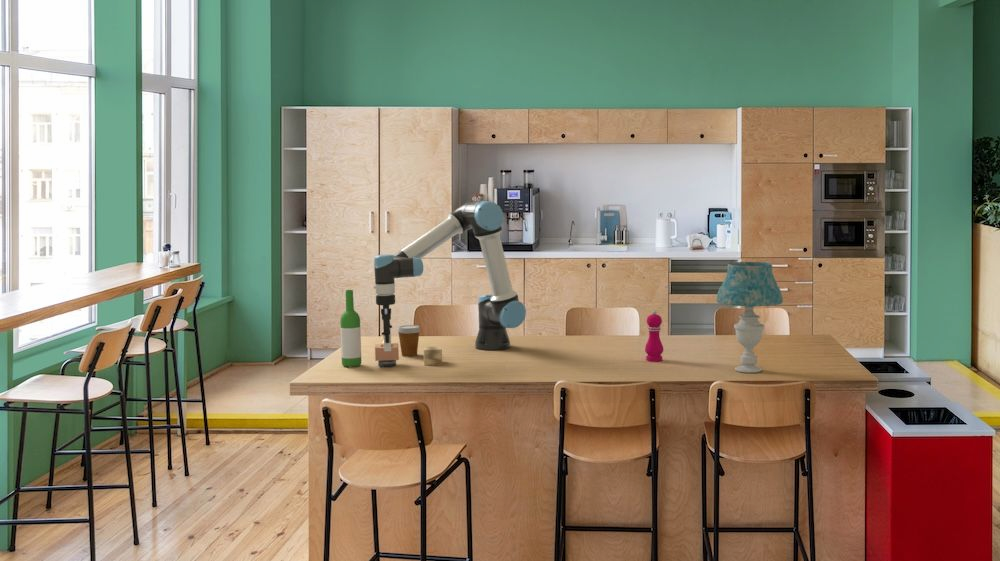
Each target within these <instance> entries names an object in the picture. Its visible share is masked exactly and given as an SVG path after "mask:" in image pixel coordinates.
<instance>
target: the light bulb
mask: <svg viewBox="0 0 1000 561" xmlns="http://www.w3.org/2000/svg"><path fill="white" fill-rule="evenodd" d="M382 344H383V347H384V339H383V340H382ZM377 362H378V363H377V364H378V367H379V368H383V369H384V368H395V367H397V360H384V361H377Z"/></svg>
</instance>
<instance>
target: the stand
mask: <svg viewBox="0 0 1000 561" xmlns="http://www.w3.org/2000/svg"><path fill="white" fill-rule="evenodd" d="M423 364H424V366H435V365H437V366H438V365H439V364H442V365H443V349H442V346H423Z"/></svg>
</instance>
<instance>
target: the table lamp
mask: <svg viewBox="0 0 1000 561" xmlns="http://www.w3.org/2000/svg"><path fill="white" fill-rule="evenodd" d="M726 270H727V271H726V275H725V277H724V278H723V281H722V284H721V285H720V287H719V288H718V292H717V296H716V302H717V303H718V304H720V305H724V306H725V305H726V306H735V307H744V312H743V313H742V314H740V315H738V318H739V319H740V320H739V321H738V322H737V323H735V324H734V325H733V329H735V336H736V337H735V338H736V340H737V342H738V343H739V344H740V345H741V346H742V347H743V348H744V351H743V352H742V354H741V355H740V356H739V362H740V364H742V365H738V366H736V367H735V368H734V369H735V371H737V372H739V373H744V374H745V373H746V374H757V373H760V372H762V371H763V368H762V367H760V366H759V365H758V366H757V365H756V364H758V355H755V351H753V350H754V348H755V347H756V346H757V345H758V344H759V343H760V342H761V341H762V337H763V331H764V330H765V325H764V324H763V323H760V321H759V319H760V315H758V314H756V312H755V311H754V309H755V307H769V306H770V307H771V306H778V305H781V304H783V302H784V300H783V295H782V291H781V289H780V287H779V286H778V283H777V281H776V279H775V277H774V273H773V264H772V263H770V262H761V261H737V262H736V261H735V262H729V263H727V269H726Z"/></svg>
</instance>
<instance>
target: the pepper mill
mask: <svg viewBox="0 0 1000 561" xmlns="http://www.w3.org/2000/svg"><path fill="white" fill-rule="evenodd" d="M646 323H647V325H648V326H647V331H648V333H649V334H648V340H647V342H646V344H645V346H644V351H645V353H646V354H647V355H646V356H645V360H646V362H648V363H649V362H650V363H659V362H663V356H662V354H663V353H664V345H663V343H662V341H661V338H660V331H661V328H662V327H661V325H662V323H663V319H662V316H661V315H659V314H657V310H652V312H651V314H649V315H647V318H646Z"/></svg>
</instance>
